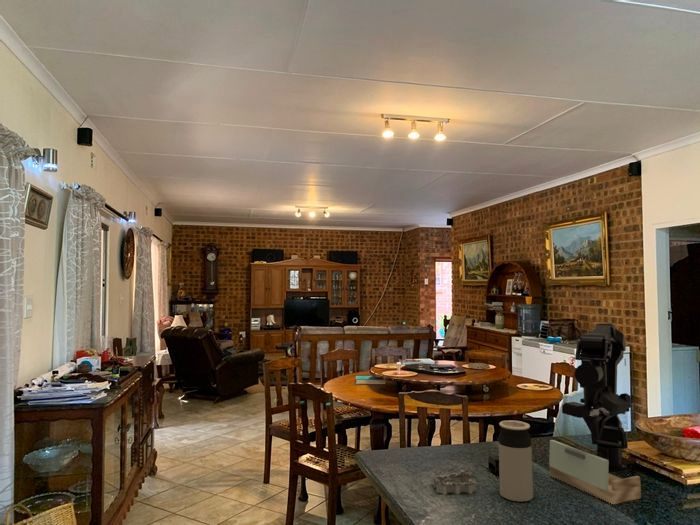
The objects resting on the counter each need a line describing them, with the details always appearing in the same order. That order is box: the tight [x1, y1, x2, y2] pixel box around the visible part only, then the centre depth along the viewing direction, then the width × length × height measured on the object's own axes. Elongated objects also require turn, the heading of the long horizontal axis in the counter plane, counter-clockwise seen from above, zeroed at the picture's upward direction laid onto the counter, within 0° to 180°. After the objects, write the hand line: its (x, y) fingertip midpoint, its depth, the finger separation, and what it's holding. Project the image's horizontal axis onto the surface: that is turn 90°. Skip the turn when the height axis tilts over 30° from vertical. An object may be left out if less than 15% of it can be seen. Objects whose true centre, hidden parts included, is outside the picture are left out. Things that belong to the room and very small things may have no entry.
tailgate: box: [548, 439, 609, 490], centre depth 127 cm, size 2×18×7 cm, turn 22°
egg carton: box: [431, 469, 477, 496], centre depth 128 cm, size 11×8×4 cm
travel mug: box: [498, 419, 534, 503], centre depth 124 cm, size 8×8×18 cm
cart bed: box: [549, 466, 642, 505], centre depth 129 cm, size 10×20×5 cm, turn 22°
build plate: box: [484, 454, 499, 478], centre depth 141 cm, size 12×7×5 cm, turn 13°
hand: (596, 439), depth 131 cm, fingers closed
